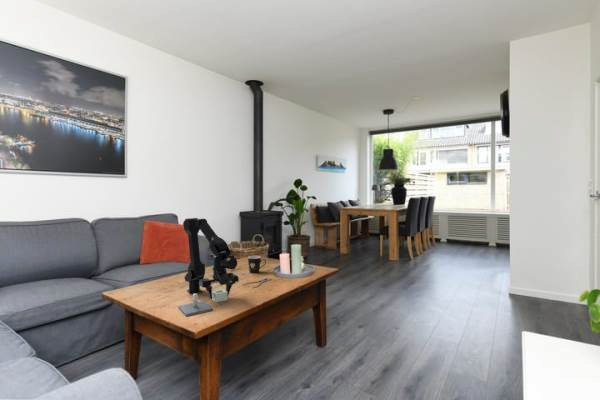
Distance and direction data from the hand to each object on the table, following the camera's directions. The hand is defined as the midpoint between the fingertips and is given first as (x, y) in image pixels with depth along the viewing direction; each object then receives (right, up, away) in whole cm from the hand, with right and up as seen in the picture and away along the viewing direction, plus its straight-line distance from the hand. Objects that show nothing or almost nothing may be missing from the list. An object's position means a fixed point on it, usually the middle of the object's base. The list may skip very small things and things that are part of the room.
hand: (219, 297), depth 158 cm
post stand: (-8, -1, -13) cm, 15 cm away
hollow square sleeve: (0, -1, 0) cm, 1 cm away
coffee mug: (+11, 0, +53) cm, 54 cm away
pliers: (+15, -1, +29) cm, 33 cm away
